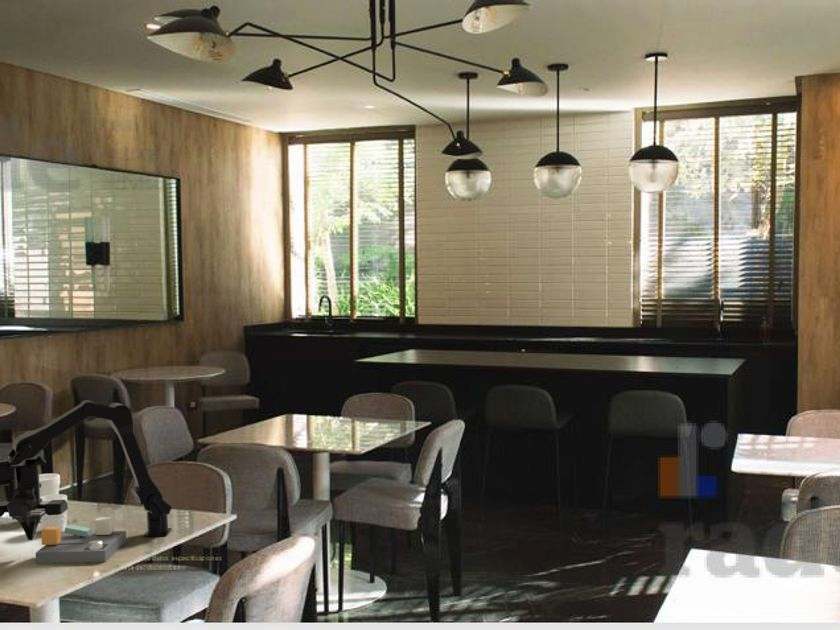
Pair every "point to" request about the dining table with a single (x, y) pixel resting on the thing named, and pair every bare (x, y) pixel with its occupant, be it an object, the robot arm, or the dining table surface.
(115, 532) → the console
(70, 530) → the rocker teal
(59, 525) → the white cup
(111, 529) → the beige block
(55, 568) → the dining table surface
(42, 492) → the foam cup
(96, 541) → the clear cube
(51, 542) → the fader orange
